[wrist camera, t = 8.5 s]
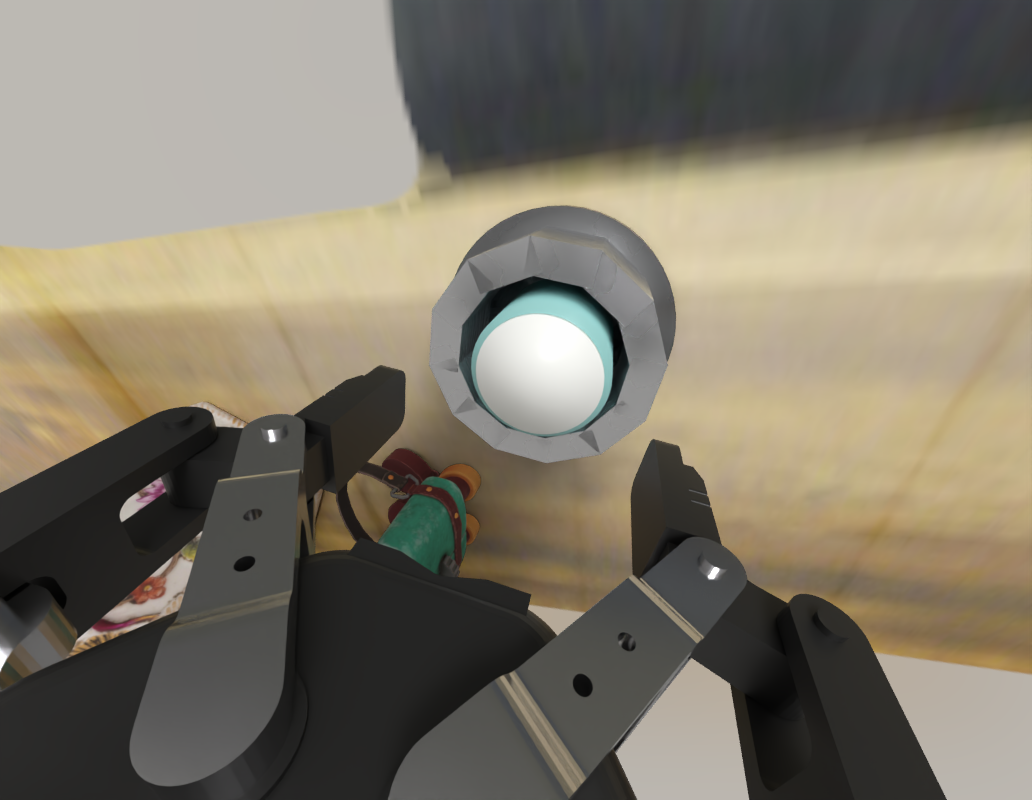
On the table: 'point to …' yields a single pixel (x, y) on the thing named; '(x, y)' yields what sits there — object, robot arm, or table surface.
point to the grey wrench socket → (574, 260)
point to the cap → (546, 360)
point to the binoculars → (422, 510)
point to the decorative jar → (168, 581)
